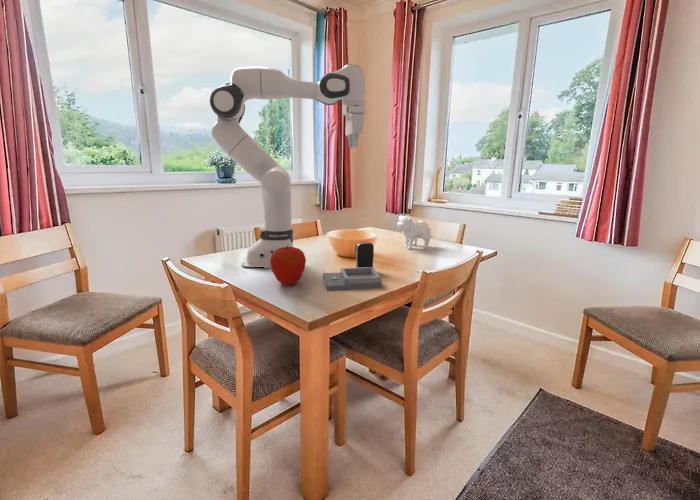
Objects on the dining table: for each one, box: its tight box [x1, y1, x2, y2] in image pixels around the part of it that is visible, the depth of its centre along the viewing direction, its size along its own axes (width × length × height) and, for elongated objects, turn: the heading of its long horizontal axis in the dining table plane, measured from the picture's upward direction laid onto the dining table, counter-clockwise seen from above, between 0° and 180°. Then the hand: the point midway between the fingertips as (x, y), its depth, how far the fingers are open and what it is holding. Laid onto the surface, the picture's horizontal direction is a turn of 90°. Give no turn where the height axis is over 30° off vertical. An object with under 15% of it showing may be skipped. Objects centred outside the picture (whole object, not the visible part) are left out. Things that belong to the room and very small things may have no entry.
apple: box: [270, 245, 307, 287], centre depth 125 cm, size 12×12×14 cm
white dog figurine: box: [394, 214, 434, 251], centre depth 180 cm, size 25×10×17 cm, turn 125°
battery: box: [354, 241, 375, 268], centre depth 142 cm, size 7×4×11 cm, turn 111°
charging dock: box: [322, 266, 383, 291], centre depth 129 cm, size 19×14×4 cm
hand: (353, 147), depth 146 cm, fingers open, 8 cm apart
